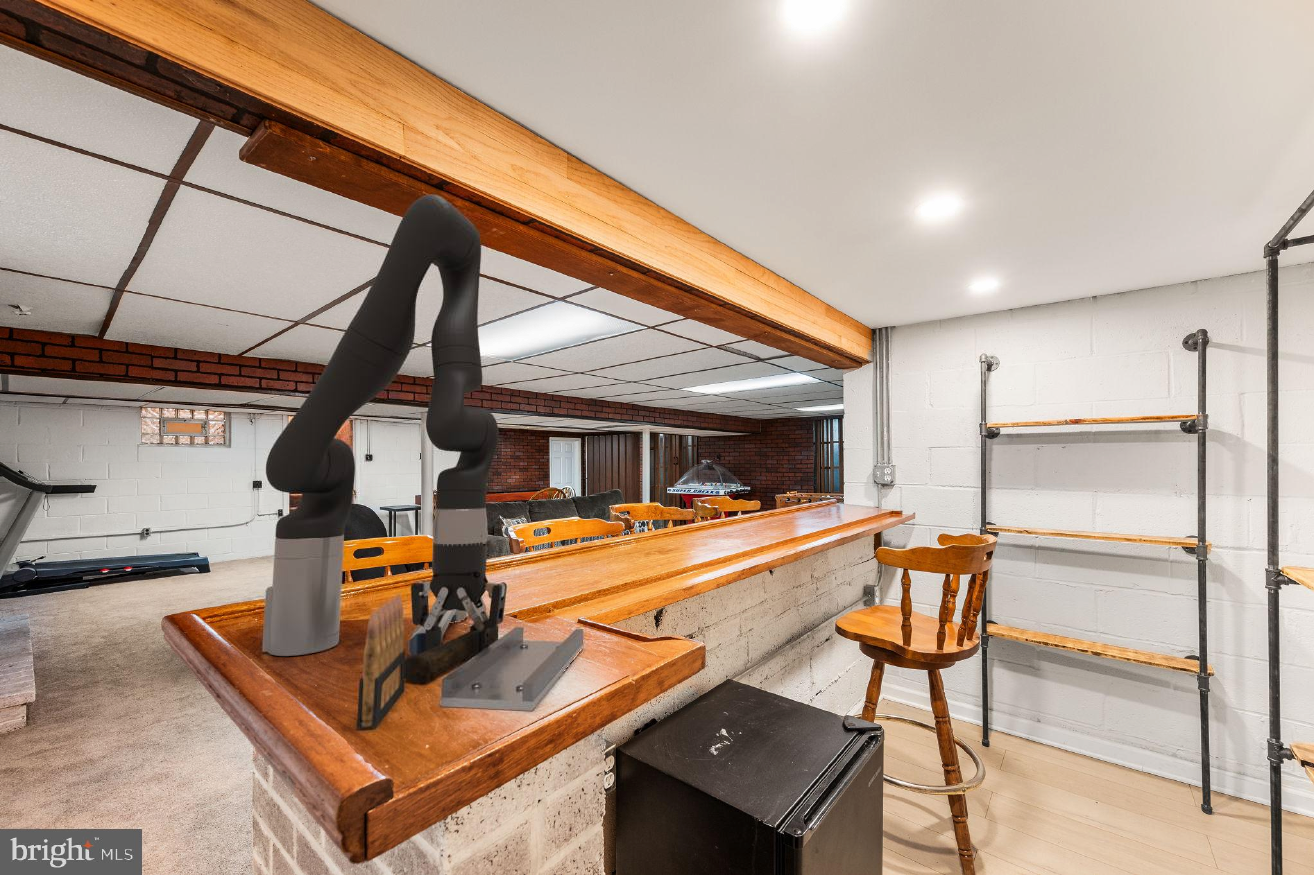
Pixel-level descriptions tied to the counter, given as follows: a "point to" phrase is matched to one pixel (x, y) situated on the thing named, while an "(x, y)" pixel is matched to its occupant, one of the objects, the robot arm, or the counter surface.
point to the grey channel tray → (510, 673)
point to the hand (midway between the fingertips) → (457, 655)
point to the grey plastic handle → (418, 635)
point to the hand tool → (443, 656)
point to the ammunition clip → (382, 665)
